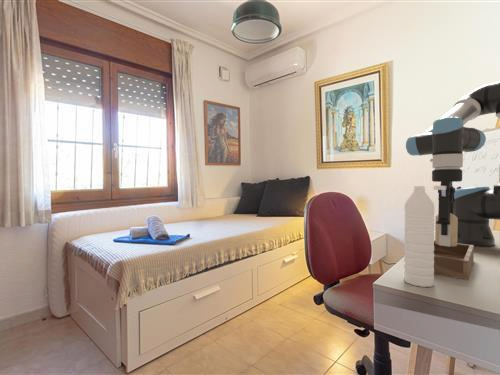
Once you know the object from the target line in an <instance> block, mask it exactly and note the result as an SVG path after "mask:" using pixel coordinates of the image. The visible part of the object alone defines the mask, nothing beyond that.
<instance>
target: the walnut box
mask: <svg viewBox="0 0 500 375" xmlns="http://www.w3.org/2000/svg"><path fill="white" fill-rule="evenodd" d="M474 248H475V245H467V244H461V243H457V246H450V247H449V246H441V245H438V244H436V243H435V240H434V266H433V267H434V274H433V275H439V276H444V277H451V278H456V279H460V280H465V281H469V277H470V275H471V271H472V267H473V264H474V261H475V260H474V259H475V258H474V256H475V252H474V251H475V250H474Z"/></svg>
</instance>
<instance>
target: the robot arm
mask: <svg viewBox="0 0 500 375" xmlns="http://www.w3.org/2000/svg"><path fill="white" fill-rule="evenodd" d="M489 114H495V117H496V118H498V119H500V81H496V82H492V83H487V84H484V85H482V86H479V87H477V88H475V89H473V90H472V91H470V92H468V93H467V94H465V95H464V96H462V97H461V98H460V99H459V100H457V101H456V102H455V103H454V104H453V107H452V108H451V109H450V110H449V111H448V112H446V113H445V114H444V115H443V116H442V117H441V118H438V119H436V120H434V121H433V123H432V125H431V126H429V127H428V128H426V130H425V131H423V132H422V133H421V134H415V135H413V136H409V137H408V138H407V140H406V141H405V149H406V152H407V154H408V155H410V156H419V157H420V156H425V155H426V156H427V155H429V156H430V155H432V158H431V159H430V160H429V161H430V162H431V163H432V169H433V170H432V172H431V180H432V182H440V186H446V188H443V189H446V190H437V193H438V197H437V198H438V199H437V200H438V210H437V212H438V214H437V215H438V221H436V220H435V223H436V224H439V245H441V246H449V247H450V229H451V225H450V213H452V214H453V215H455V216H456V217H457V218H458V230H457V243H458V244H466V245H474V246H479V247H486V246H487V247H489V246H490V247H491V246H495V241H496V240H495V237H494V235H493V232H492V230H491V227H490V220H494V221H495V220H497V221H500V165H499V166H498V167H499V169H498V171H499V172H498V173H499V174H498V176H499V177H498V182H496V183H494V185H493V189H491V188H490V186H475V187H465V188H463V187H461V188H458V189H457V188H456V187H453V182H457V183H459V182H462V181H463V169H461V168H463V163H464V161H463V160H464V159H463V158H464V157H463V156H464V154H463V152H464V153H468V152H469V153H472V152H475V151H478V150H481V149H482V148H483V147H484V145H485V144H486V139H487V137H486V134H485V133H484V132H483V131H482V130H480V129H477V128H475V127H466V126H465V125H466V124H467V123H468V122H469V121H472V120H475V119H476V118H478V117H480V116H484V115H489Z"/></svg>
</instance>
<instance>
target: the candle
mask: <svg viewBox="0 0 500 375" xmlns="http://www.w3.org/2000/svg"><path fill="white" fill-rule="evenodd" d="M436 221H438V214H437V215H435V222H434V241H435V243H436V244H438V245H439V224H436ZM450 225H451V229H450V246H457V230H458V218H457V217H456V216H455V215H453V214H452V213H450Z"/></svg>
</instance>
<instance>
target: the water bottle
mask: <svg viewBox="0 0 500 375" xmlns="http://www.w3.org/2000/svg"><path fill="white" fill-rule="evenodd" d="M425 188H426V187H425V186H423V185H422V186H421V185H420V186H418V185H417V186H413V192H412V193H411V194H410V196H409V197H408V198H407V199H406V201H405V204H404V265H403V266H404V277H403V278H404V280H403V281H405V283H407V284H410V285H412V286H416V287H421V288H427V287H428V288H430V287H433V286H434V285H435V276H434V275H435V274H434V267H433V266H434V241H435V204H434V203H435V202H434V201H432V199H431V198H430V196H429V195H428V194H427V193H426V189H425ZM443 188H446V186H441V185H433V191H438V190H446V189H443Z"/></svg>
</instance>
